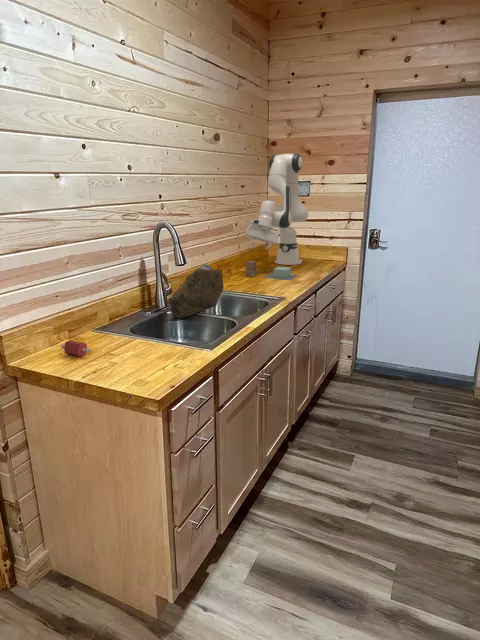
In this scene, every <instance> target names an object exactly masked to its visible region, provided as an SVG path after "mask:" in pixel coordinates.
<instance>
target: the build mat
mask: <svg viewBox="0 0 480 640" xmlns="http://www.w3.org/2000/svg"><path fill="white" fill-rule="evenodd" d="M297 277H299V275H295V274H291V276H290V277H288V278H287V279H286V278H274V272H272V273H270V274H267V275H266V276H264V277H263V279H269V280H270V279H271V280H273V279H274V280H282V281H293V280H294V279H296V278H297Z"/></svg>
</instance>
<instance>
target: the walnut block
mask: <svg viewBox="0 0 480 640" xmlns="http://www.w3.org/2000/svg"><path fill="white" fill-rule="evenodd" d="M257 264H258V263H257V261H252V260H247V261H246V262H245V277H247V278H248V277H250V278H254V277H256V276H257V274H258V273H257V271H258V270H257V269H258V266H257Z"/></svg>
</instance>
